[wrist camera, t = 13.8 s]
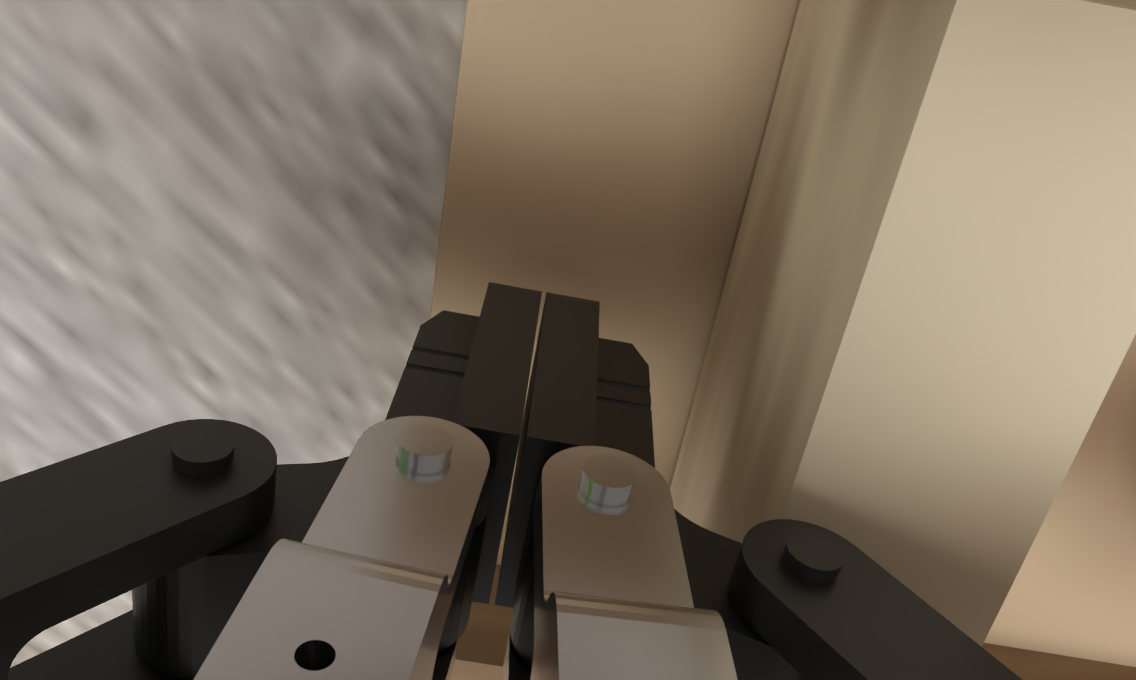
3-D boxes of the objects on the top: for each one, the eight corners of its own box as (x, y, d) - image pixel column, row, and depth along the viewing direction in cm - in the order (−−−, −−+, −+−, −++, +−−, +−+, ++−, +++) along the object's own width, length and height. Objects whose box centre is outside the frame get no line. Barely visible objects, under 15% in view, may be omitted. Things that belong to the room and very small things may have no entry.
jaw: (824, -90, 13) (964, -22, 8) (1016, -53, 13) (1281, 37, 8) (640, 598, 18) (649, 910, 13) (776, 620, 18) (838, 938, 13)
